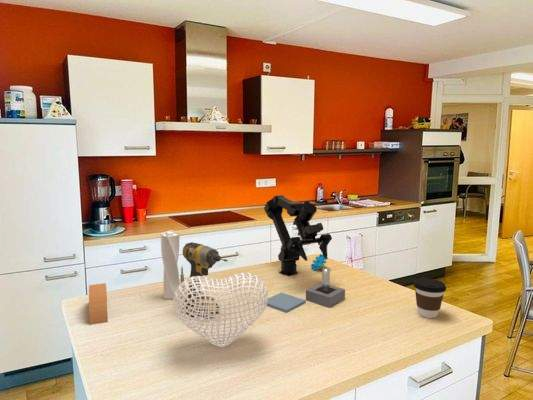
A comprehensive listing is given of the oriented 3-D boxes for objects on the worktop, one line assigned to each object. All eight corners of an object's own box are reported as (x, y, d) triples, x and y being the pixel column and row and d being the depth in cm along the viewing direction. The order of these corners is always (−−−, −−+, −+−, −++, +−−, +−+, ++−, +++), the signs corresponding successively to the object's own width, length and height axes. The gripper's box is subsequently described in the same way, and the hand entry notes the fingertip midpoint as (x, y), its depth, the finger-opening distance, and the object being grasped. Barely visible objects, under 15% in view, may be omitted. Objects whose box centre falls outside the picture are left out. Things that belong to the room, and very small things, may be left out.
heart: (261, 329, 131) (261, 264, 127) (273, 354, 116) (273, 281, 112) (174, 339, 124) (172, 271, 121) (175, 366, 109) (172, 289, 106)
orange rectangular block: (89, 325, 133) (87, 297, 132) (91, 302, 152) (89, 277, 150) (107, 322, 135) (106, 294, 134) (107, 300, 154) (106, 275, 152)
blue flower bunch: (308, 262, 196) (322, 249, 195) (315, 270, 198) (330, 256, 197) (313, 273, 186) (329, 258, 185) (321, 280, 187) (337, 266, 186)
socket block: (305, 299, 155) (305, 290, 154) (321, 291, 163) (321, 282, 162) (329, 307, 148) (330, 297, 147) (344, 299, 156) (345, 289, 155)
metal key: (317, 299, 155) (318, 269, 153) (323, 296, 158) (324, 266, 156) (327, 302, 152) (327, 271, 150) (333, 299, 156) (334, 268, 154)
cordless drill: (216, 327, 132) (215, 254, 128) (176, 311, 144) (174, 244, 140) (234, 317, 139) (233, 248, 135) (195, 303, 151) (193, 239, 147)
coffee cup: (447, 322, 136) (450, 289, 134) (414, 319, 138) (416, 287, 136) (440, 309, 146) (442, 278, 145) (409, 307, 149) (411, 276, 147)
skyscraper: (180, 301, 153) (178, 231, 149) (159, 301, 153) (157, 231, 149) (185, 293, 162) (183, 226, 157) (165, 293, 162) (163, 226, 157)
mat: (261, 303, 151) (261, 301, 151) (281, 294, 160) (281, 292, 160) (286, 312, 143) (286, 310, 143) (305, 302, 152) (305, 300, 152)
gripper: (290, 218, 160) (303, 251, 151) (330, 215, 167) (344, 246, 158) (282, 233, 168) (293, 265, 159) (320, 229, 175) (333, 260, 167)
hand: (316, 259), depth 161 cm, fingers open, 9 cm apart
